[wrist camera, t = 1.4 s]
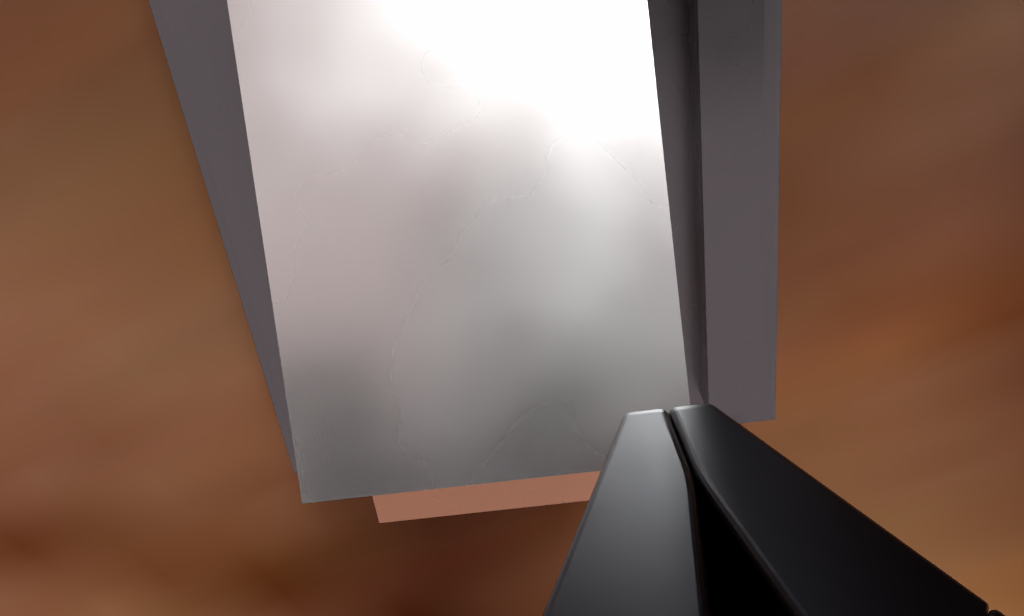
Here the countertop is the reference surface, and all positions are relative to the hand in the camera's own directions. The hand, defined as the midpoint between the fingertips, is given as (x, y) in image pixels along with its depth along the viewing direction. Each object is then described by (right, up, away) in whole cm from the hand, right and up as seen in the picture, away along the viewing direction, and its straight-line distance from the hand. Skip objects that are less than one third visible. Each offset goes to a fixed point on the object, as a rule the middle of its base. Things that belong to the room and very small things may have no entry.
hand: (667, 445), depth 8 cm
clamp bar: (-3, +8, +3) cm, 9 cm away
